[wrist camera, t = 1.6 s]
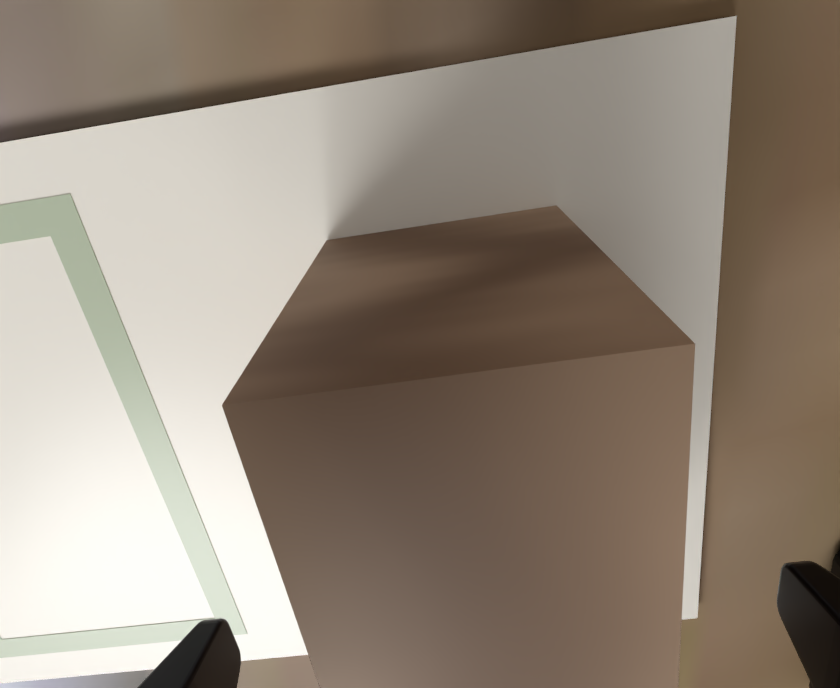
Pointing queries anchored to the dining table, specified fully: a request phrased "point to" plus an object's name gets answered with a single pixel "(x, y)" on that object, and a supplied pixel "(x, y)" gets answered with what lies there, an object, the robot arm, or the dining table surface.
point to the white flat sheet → (270, 291)
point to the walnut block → (474, 460)
